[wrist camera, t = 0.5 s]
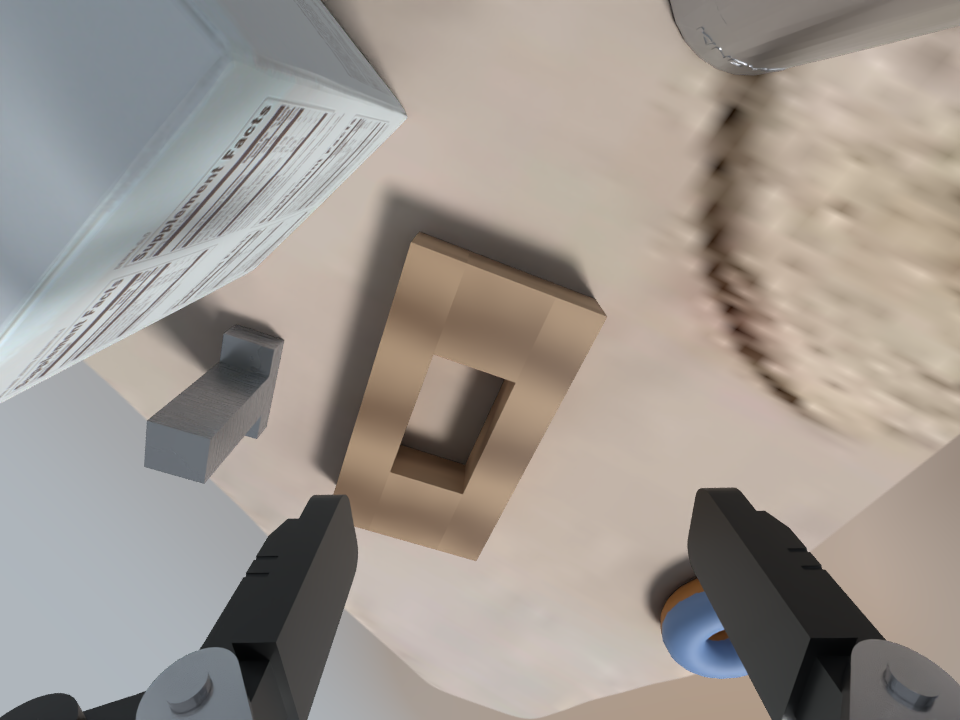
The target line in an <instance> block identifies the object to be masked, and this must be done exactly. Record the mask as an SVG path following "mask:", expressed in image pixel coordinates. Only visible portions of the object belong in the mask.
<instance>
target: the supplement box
mask: <svg viewBox="0 0 960 720" xmlns="http://www.w3.org/2000/svg"><path fill="white" fill-rule="evenodd" d="M406 119H407V115H406V112H405V110H404V109H403V107H402V106H401V104H400V103H399V101H398V100H397V99H396V97H395V96H394V95H393V93H392V92H391V91H390V89H389V88H388V87H387V86H386V84H385V83H384V82H383V80H382V79H381V78H380V77H379V75H378V74H377V73H376V71H375V70H374V69H373V68H372V66H371V65H370V64H369V62H368V61H367V60H366V59H365V57H364V56H363V55H362V53H361V52H360V51H359V50H358V48H357V47H356V46H355V44H354V43H353V42H352V41H351V39H350V38H349V37H348V35H347V34H346V33H345V32H344V30H343V29H342V28H341V26H340V25H339V24H338V23H337V21H336V20H335V19H334V17H333V16H332V15H331V13H330V12H329V11H328V10H327V8H326V7H325V6H324V4H323V3H322V2H321V1H320V0H0V403H2V402H4V401H6V400H8V399H10V398H12V397H13V396H15V395H17V394H19V393H21V392H23V391H25V390H27V389H29V388H30V387H33V386H35V385H36V384H38V383H40V382H42V381H44V380H46V379H48V378H50V377H52V376H54V375H56V374H57V373H59V372H61V371H63V370H65V369H67V368H69V367H71V366H73V365H74V364H76V363H78V362H80V361H82V360H84V359H86V358H88V357H89V356H91V355H93V354H95V353H97V352H99V351H101V350H103V349H105V348H106V347H108V346H110V345H112V344H114V343H116V342H118V341H120V340H122V339H124V338H126V337H128V336H130V335H131V334H133V333H135V332H137V331H139V330H141V329H143V328H145V327H147V326H149V325H151V324H153V323H155V322H157V321H159V320H160V319H162V318H164V317H166V316H168V315H170V314H172V313H174V312H176V311H178V310H179V309H181V308H183V307H185V306H187V305H189V304H191V303H193V302H195V301H196V300H198V299H200V298H202V297H204V296H206V295H208V294H210V293H212V292H214V291H215V290H217V289H219V288H221V287H223V286H225V285H226V284H228V283H230V282H232V281H234V280H236V279H238V278H240V277H241V276H243V275H245V274H247V273H249V272H251V271H252V270H254V269H255V268H256V267H257V266H258V265H259V264H260V263H261V262H262V261H263V260H264V259H265V258H266V257H267V256H268V255H269V254H270V253H271V252H273V251H274V250H275V249H276V248H277V247H278V246H279V245H280V244H281V243H282V242H283V241H284V240H285V239H286V238H287V237H288V236H289V235H290V234H291V233H292V232H293V231H294V230H295V229H296V228H297V227H298V226H299V225H300V224H301V223H302V222H303V221H304V220H305V219H306V218H307V217H308V216H309V215H310V214H311V213H313V212H314V211H315V210H316V209H317V208H318V207H319V206H320V205H321V204H322V203H323V202H324V201H325V200H326V199H327V198H328V197H329V196H330V195H331V194H332V193H333V192H334V191H335V190H336V189H337V188H338V187H339V186H340V185H341V184H342V183H343V182H344V181H345V180H346V179H347V178H348V177H349V176H350V175H351V174H352V173H353V172H354V171H355V170H356V169H357V168H358V167H359V166H360V165H361V164H362V163H363V162H364V161H365V160H366V159H367V158H368V157H369V156H370V155H371V154H372V153H373V152H374V151H375V150H376V149H377V148H378V147H379V146H380V145H381V144H382V143H383V142H384V141H385V140H386V139H387V138H388V137H389V136H390V135H391V134H392V133H393V132H394V131H395V130H396V129H397V128H398V127H399V126H400V125H401V124H402V123H403V122H404V121H405V120H406Z"/></svg>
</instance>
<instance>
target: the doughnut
mask: <svg viewBox="0 0 960 720" xmlns="http://www.w3.org/2000/svg"><path fill="white" fill-rule="evenodd" d="M661 633H662V638H663V642H664V644H665V646H666V648H667V649H668V651H669V653H670V655H671V657H672V658H673V659H674V660H675V661H676V662H677V663H678V664H680V665H681V666H682V667H684V668H685V669H686V670H688V671H690V672H692V673H695V674H698V675H701V676H704V677H710V678H719V679H724V678H735V677H736V678H737V677H741V676H745V675H748V673H747V672H746V670H745V668H744V666H743V664H742V662H741V660H740V658H739V656H738V654H737V652H736V651H735V649H734V647H733V645H732V643H731V641H730V639H729V637H728V635H727V633H726V632H725V630H724V628H723V626H722V624H721V622H720V620H719V618H718V616H717V614H716V612H715V611H714V609H713V607H712V605H711V603H710V601H709V599H708V597H707V595H706V593H705V592H704V590H703V588H702V586H701V584H700V582H699V580H698V579H694V580H692V581H690V582H688V583H687V584H685V585H683V586H681V587H680V588H678V589H677V590H676V591H675V592H674V593H673V594H672V595H671V596H670V597H669V599H668V600H667V602H666V604H665V606H664V608H663V610H662V612H661Z"/></svg>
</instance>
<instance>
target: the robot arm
mask: <svg viewBox="0 0 960 720" xmlns="http://www.w3.org/2000/svg"><path fill="white" fill-rule="evenodd" d="M670 2H671V6H672V10H673V14H674V18H675V21H676V24H677V26H678V28H679V30H680V32H681V34H682V36H683V37H684V39H685V41H686V43H687V44H688V45H689V46H690V47H691V49H692V50H693V51H694V52H695V53H696V54H697V55H698V57H699V58H701V59H702V60H704V61H705V62H707V63H708V64H710V65H711V66H713V67H714V68H716V69H719V70H722V71H725V72H728V73H731V74H735V75H760V74H765V73H770V72H775V71H782V70H785V69H787V68H791V67H795V66H799V65H803V64H807V63H811V62H816V61H821V60H825V59H829V58H833V57H837V56H841V55H845V54H849V53H853V52H857V51H861V50H865V49H869V48H873V47H877V46H881V45H885V44H889V43H893V42H897V41H901V40H905V39H909V38H913V37H917V36H921V35H925V34H929V33H933V32H937V31H941V30H945V29H949V28H953V27H957V26H960V0H670ZM688 555H689V559H690V563H691V566H692V568H693V570H694V572H695V574H696V576H697V578H698V580H699V582H700V584H701V586H702V588H703V590H704V592H705V593H706V595H707V597H708V599H709V601H710V603H711V605H712V607H713V609H714V611H715V612H716V614H717V616H718V618H719V620H720V622H721V624H722V626H723V628H724V630H725V632H726V633H727V635H728V637H729V639H730V641H731V643H732V645H733V647H734V649H735V651H736V652H737V654H738V656H739V658H740V660H741V662H742V664H743V666H744V668H745V670H746V672H747V673H748V675H749V677H750V679H751V681H752V683H753V685H754V687H755V689H756V691H757V692H758V694H759V696H760V698H761V700H762V702H763V704H764V706H765V708H766V710H767V711H768V713H769V715H770V717H771V719H772V720H960V685H959V684H958V683H957V682H956V681H955V680H954V679H953V678H952V677H951V676H950V675H949V674H948V673H947V672H945V671H944V670H943V669H942V668H940V667H939V666H938V665H936V664H935V663H933V662H932V661H931V660H929V659H928V658H926V657H924V656H923V655H921V654H919V653H918V652H916V651H913V650H911V649H909V648H907V647H905V646H902V645H900V644H897V643H893V642H890V641H886V640H885V638H883V636H882V635H881V634H880V633H879V632H878V630H877V629H876V628H875V627H874V626H873V625H872V624H871V622H870V621H869V620H868V619H867V618H866V616H865V615H864V614H863V613H862V612H861V611H860V610H859V608H858V607H857V606H856V605H855V604H854V603H853V601H852V600H851V599H850V598H849V597H848V596H847V594H846V593H845V592H844V591H843V590H842V589H841V587H839V585H838V584H837V583H836V582H835V581H834V579H833V578H832V577H831V576H830V575H829V574H828V572H827V571H826V570H823V569H822V567H821V564H820V563H819V562H818V561H817V560H816V558H815V557H814V556H813V555H812V554H811V553H810V552H807V548H806V547H805V546H804V544H803V543H802V542H801V541H800V540H799V539H798V537H797V536H796V535H795V534H794V533H793V532H792V530H791V529H790V528H789V527H787V526H786V525H784V524H783V523H782V522H780V521H779V520H777V519H776V518H774V517H773V516H772V515H770V514H769V513H767V512H766V511H756V510H755V509H754V507H753V506H752V505H751V504H750V502H749V501H748V500H747V499H746V497H745V496H744V495H743V494H742V492H741V491H740V490H738V489H737V488H701V489H699V490H698V491H697V493H696V497H695V502H694V508H693V513H692V519H691V524H690V530H689V536H688ZM357 560H358V545H357V539H356V534H355V528H354V523H353V517H352V511H351V506H350V501H349V498H348V496H347V495H313V496H312V497H311V498H310V500H309V501H308V503H307V505H306V507H305V509H304V510H303V512H302V514H301V516H300V518H299V519H287V520H286V521H285V522H284V523H283V524H281V525H280V526H279V527H278V528H277V529H276V530H275V531H274V532H272V533H271V534H270V535H269V536H268V538H267V539H266V541H265V543H264V545H263V546H262V548H261V549H260V551H259V553H258V554H257V556H256V560H254V561H253V562H252V564H251V566H250V567H249V569H248V571H247V572H246V577H244V578H243V579H242V581H241V582H240V584H239V586H238V587H237V589H236V591H235V592H234V594H233V596H232V597H231V599H230V601H229V602H228V604H227V606H226V607H225V609H224V611H223V612H222V614H221V616H220V617H219V619H218V620H217V622H216V624H215V625H214V627H213V629H212V630H211V632H210V634H209V635H208V637H207V639H206V641H205V642H204V644H203V645H202V647H201V648H200V650H198V651H195V652H192V653H190V654H188V655H186V656H184V657H183V658H181V659H179V660H177V661H176V662H174V663H173V664H172V665H170V666H169V667H168V668H167V669H165V670H164V671H163V672H162V673H161V674H160V675H159V676H158V677H157V678H156V679H155V680H154V681H153V683H152V684H151V685H150V686H149V688H148V689H147V691H145V692H142V693H139V694H137V695H134V696H131V697H127V698H124V699H121V700H118V701H115V702H111V703H108V704H105V705H102V706H99V707H96V708H93V709H90V710H86V711H83V712H82V710H81V708H80V706H79V705H78V703H77V701H76V700H75V699H74V698H73V697H71V696H70V695H67V694H63V693H54V694H48V695H45V696H41V697H37V698H35V699H32V700H30V701H28V702H26V703H24V704H22V705H20V706H18V707H16V708H14V709H13V710H11V711H9V712H8V713H6V714H5V715H3V716H2V717H0V720H307V719H308V716H309V712H310V709H311V706H312V703H313V700H314V697H315V694H316V691H317V688H318V685H319V682H320V679H321V676H322V673H323V670H324V667H325V664H326V661H327V658H328V655H329V652H330V648H331V646H332V643H333V639H334V636H335V633H336V630H337V627H338V624H339V621H340V618H341V615H342V612H343V609H344V606H345V603H346V600H347V597H348V594H349V591H350V588H351V585H352V582H353V579H354V576H355V572H356V567H357Z"/></svg>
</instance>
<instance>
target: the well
mask: <svg viewBox="0 0 960 720" xmlns="http://www.w3.org/2000/svg"><path fill="white" fill-rule="evenodd" d="M606 318H607V316H606V314H605V313H604V311H603V310H602V308H601V307H600V305H599V304H598V302H597V301H596V299H593V298H591V297H588V296H586V295H583V294H580V293H578V292H575V291H573V290H570V289H567V288H565V287H562V286H560V285H557V284H554V283H552V282H549V281H547V280H544V279H541V278H539V277H536V276H534V275H531V274H528V273H526V272H523V271H521V270H518V269H515V268H513V267H510V266H508V265H505V264H502V263H500V262H497V261H495V260H492V259H489V258H487V257H484V256H482V255H479V254H476V253H474V252H471V251H469V250H466V249H463V248H461V247H458V246H456V245H453V244H450V243H448V242H445V241H443V240H440V239H437V238H435V237H432V236H430V235H427V234H424V233H422V232H419V233H418V234H417V235H416V236H415V238H414V239H413V240H412V241H411V244H410V247H409V250H408V253H407V257H406V260H405V263H404V266H403V270H402V273H401V276H400V279H399V283H398V286H397V289H396V292H395V296H394V299H393V302H392V306H391V309H390V312H389V315H388V319H387V322H386V325H385V328H384V332H383V335H382V338H381V341H380V345H379V348H378V351H377V354H376V358H375V361H374V364H373V367H372V371H371V374H370V377H369V380H368V384H367V387H366V390H365V393H364V397H363V400H362V403H361V406H360V410H359V413H358V416H357V419H356V423H355V426H354V429H353V432H352V436H351V439H350V442H349V445H348V449H347V452H346V455H345V459H344V462H343V465H342V468H341V472H340V475H339V478H338V481H337V485H336V488H335V491H334V494H333V495H347V496H348V498H349V501H350V506H351V511H352V517H353V523H354V526H355V527H358V528H362V529H365V530H369V531H372V532H376V533H379V534H383V535H386V536H390V537H393V538H397V539H400V540H404V541H407V542H411V543H414V544H418V545H422V546H425V547H429V548H432V549H436V550H439V551H443V552H446V553H450V554H453V555H457V556H460V557H464V558H467V559H471V560H474V561H477V559H478V557H479V555H480V553H481V551H482V549H483V548H484V546H485V544H486V542H487V540H488V538H489V536H490V534H491V533H492V531H493V529H494V527H495V525H496V523H497V521H498V520H499V518H500V516H501V514H502V512H503V510H504V508H505V506H506V505H507V503H508V501H509V499H510V497H511V495H512V493H513V492H514V490H515V488H516V486H517V484H518V482H519V480H520V479H521V477H522V475H523V473H524V471H525V469H526V467H527V465H528V464H529V462H530V460H531V458H532V456H533V454H534V452H535V451H536V449H537V447H538V445H539V443H540V441H541V439H542V437H543V436H544V434H545V432H546V430H547V428H548V426H549V424H550V423H551V421H552V419H553V417H554V415H555V413H556V411H557V409H558V408H559V406H560V404H561V402H562V400H563V398H564V396H565V395H566V393H567V391H568V389H569V387H570V385H571V383H572V382H573V380H574V378H575V376H576V374H577V372H578V370H579V368H580V367H581V365H582V363H583V361H584V359H585V357H586V355H587V354H588V352H589V350H590V348H591V346H592V344H593V342H594V340H595V339H596V337H597V335H598V333H599V331H600V329H601V327H602V326H603V324H604V322H605V320H606ZM433 354H434V355H437V356H440V357H443V358H446V359H449V360H451V361H454V362H457V363H460V364H463V365H466V366H469V367H472V368H474V369H477V370H480V371H483V372H486V373H489V374H492V375H495V376H498V377H500V378H503V379H504V382H503V384H502V386H501V388H500V390H499V393H498V395H497V397H496V399H495V401H494V403H493V406H492V408H491V410H490V412H489V414H488V416H487V419H486V421H485V423H484V425H483V427H482V430H481V432H480V434H479V436H478V438H477V440H476V443H475V445H474V447H473V449H472V451H471V454H470V456H469V458H468V460H467V462H466V464H465V465H463V464H460V463H457V462H454V461H451V460H447V459H444V458H441V457H438V456H435V455H432V454H428V453H425V452H422V451H419V450H416V449H412V448H409V447H406V446H403V445H400V444H401V441H402V438H403V436H404V433H405V430H406V427H407V425H408V422H409V419H410V417H411V414H412V411H413V408H414V406H415V403H416V400H417V398H418V395H419V392H420V390H421V387H422V384H423V381H424V379H425V376H426V373H427V371H428V368H429V365H430V362H431V360H432V357H433Z"/></svg>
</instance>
